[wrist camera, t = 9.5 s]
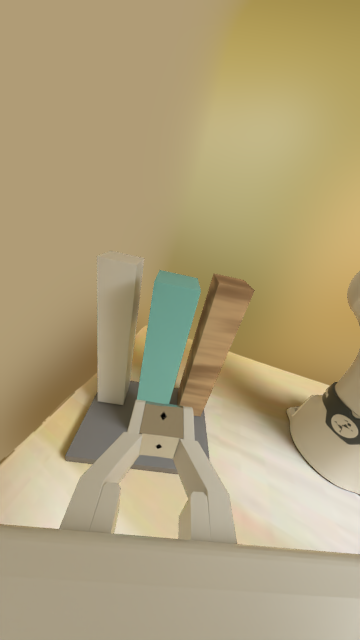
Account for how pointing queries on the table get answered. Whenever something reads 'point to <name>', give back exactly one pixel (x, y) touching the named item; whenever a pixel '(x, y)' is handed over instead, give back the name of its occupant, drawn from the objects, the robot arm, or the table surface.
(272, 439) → the table surface
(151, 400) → the teal post
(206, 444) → the board
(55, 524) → the table surface
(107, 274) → the cream post
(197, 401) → the walnut post
